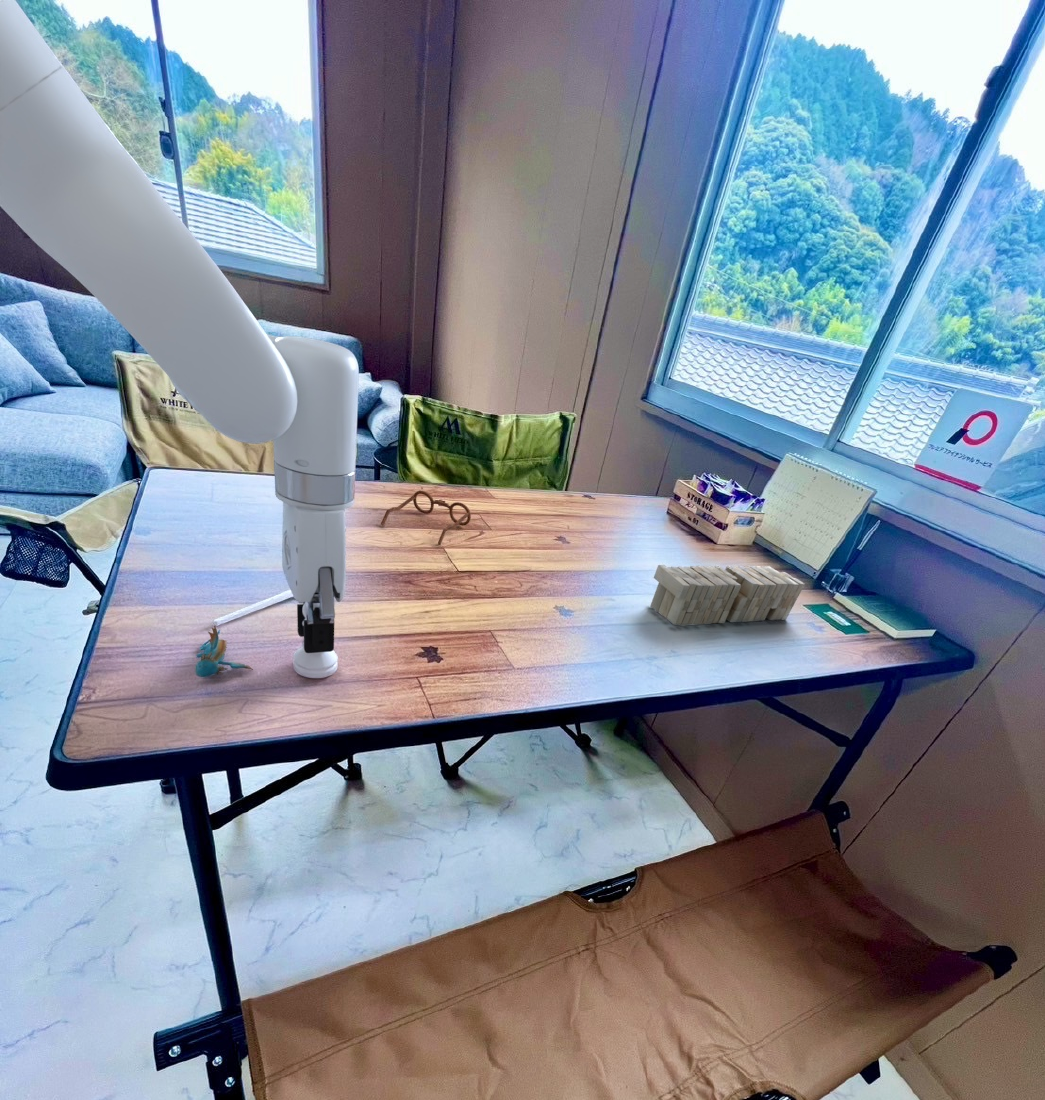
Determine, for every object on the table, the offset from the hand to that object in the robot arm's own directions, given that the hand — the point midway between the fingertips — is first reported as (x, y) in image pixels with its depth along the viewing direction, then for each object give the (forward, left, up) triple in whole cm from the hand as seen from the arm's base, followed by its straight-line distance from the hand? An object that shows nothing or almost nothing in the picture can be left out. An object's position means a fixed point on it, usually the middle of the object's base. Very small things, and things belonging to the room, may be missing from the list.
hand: (315, 641), depth 68 cm
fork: (-2, +17, -4) cm, 18 cm away
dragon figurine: (-10, +3, -4) cm, 12 cm away
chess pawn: (0, 0, -4) cm, 4 cm away
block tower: (+72, +5, -4) cm, 73 cm away
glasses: (+30, +46, -4) cm, 55 cm away
